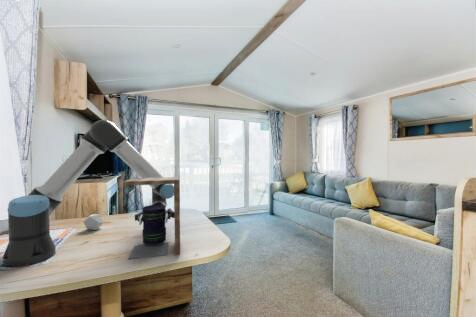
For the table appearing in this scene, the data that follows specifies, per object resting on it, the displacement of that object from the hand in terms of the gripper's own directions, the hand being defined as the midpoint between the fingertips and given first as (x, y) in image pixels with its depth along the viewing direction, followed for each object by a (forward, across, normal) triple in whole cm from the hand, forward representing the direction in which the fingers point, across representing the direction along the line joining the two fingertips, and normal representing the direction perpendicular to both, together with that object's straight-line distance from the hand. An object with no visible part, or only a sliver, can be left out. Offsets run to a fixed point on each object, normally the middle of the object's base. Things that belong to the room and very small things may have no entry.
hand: (153, 220), depth 97 cm
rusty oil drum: (-4, 0, -10) cm, 11 cm away
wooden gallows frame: (+3, -1, -11) cm, 12 cm away
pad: (+3, +1, -11) cm, 12 cm away
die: (-35, +34, -12) cm, 50 cm away
